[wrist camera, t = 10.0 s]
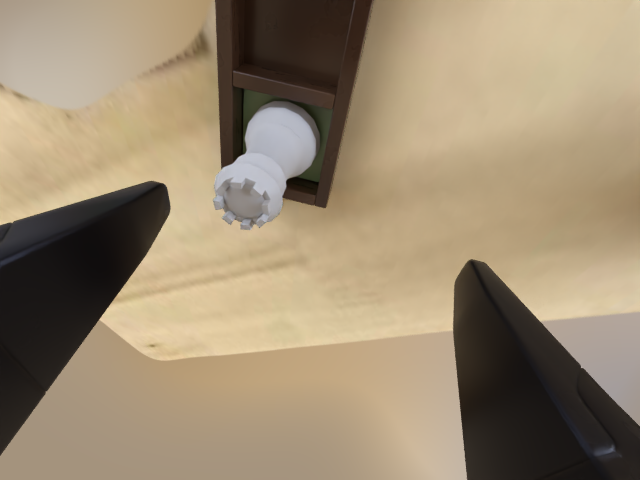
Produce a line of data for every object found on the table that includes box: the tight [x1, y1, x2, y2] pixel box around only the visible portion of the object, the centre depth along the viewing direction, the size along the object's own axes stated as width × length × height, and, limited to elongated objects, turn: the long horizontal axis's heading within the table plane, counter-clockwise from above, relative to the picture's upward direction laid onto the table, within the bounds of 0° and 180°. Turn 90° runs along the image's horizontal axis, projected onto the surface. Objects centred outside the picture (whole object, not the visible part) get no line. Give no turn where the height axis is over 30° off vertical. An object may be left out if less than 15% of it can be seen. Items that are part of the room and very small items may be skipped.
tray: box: [215, 0, 374, 208], centre depth 16 cm, size 7×20×2 cm, turn 170°
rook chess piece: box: [213, 101, 320, 230], centre depth 17 cm, size 4×4×8 cm
